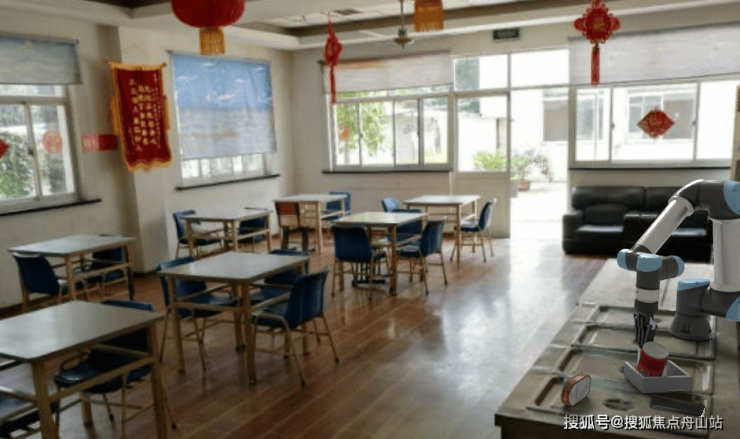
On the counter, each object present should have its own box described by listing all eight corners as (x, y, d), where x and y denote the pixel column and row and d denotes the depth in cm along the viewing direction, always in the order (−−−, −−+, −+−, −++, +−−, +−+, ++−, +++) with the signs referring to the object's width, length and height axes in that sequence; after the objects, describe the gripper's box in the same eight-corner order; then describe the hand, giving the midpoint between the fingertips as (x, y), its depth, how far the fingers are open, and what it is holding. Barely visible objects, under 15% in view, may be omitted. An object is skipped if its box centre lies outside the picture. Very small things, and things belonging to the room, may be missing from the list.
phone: (705, 415, 175) (649, 404, 183) (704, 419, 175) (649, 408, 183) (705, 404, 182) (651, 394, 189) (705, 407, 182) (651, 397, 189)
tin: (583, 392, 194) (584, 367, 192) (592, 395, 192) (593, 370, 190) (559, 408, 184) (560, 382, 182) (569, 411, 181) (569, 385, 180)
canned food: (664, 382, 200) (671, 358, 194) (639, 380, 201) (646, 356, 195) (658, 365, 206) (665, 342, 200) (634, 363, 207) (640, 340, 202)
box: (669, 373, 206) (670, 360, 205) (691, 391, 192) (692, 376, 192) (623, 375, 205) (624, 361, 205) (642, 393, 192) (643, 378, 191)
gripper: (627, 294, 210) (623, 357, 214) (644, 305, 197) (639, 372, 201) (648, 293, 210) (644, 356, 214) (667, 305, 197) (661, 372, 201)
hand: (642, 364), depth 207 cm, fingers closed
